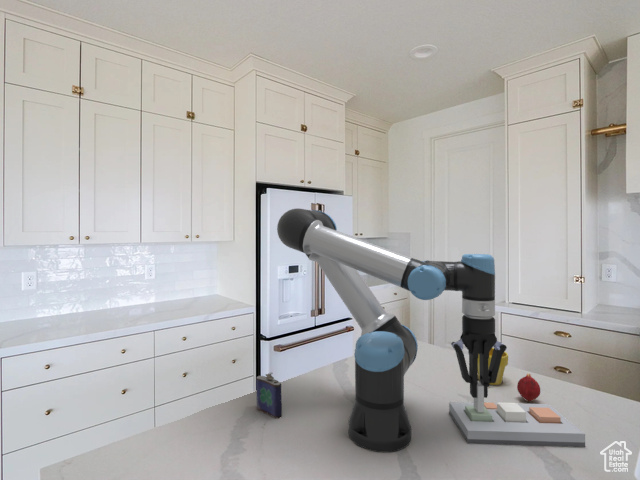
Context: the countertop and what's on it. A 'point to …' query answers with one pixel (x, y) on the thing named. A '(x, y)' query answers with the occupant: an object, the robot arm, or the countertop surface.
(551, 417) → the key terracotta
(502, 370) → the plant pot
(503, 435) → the keypad
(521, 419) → the key offwhite
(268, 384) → the flask
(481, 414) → the key sage
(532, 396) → the onion
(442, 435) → the countertop surface
